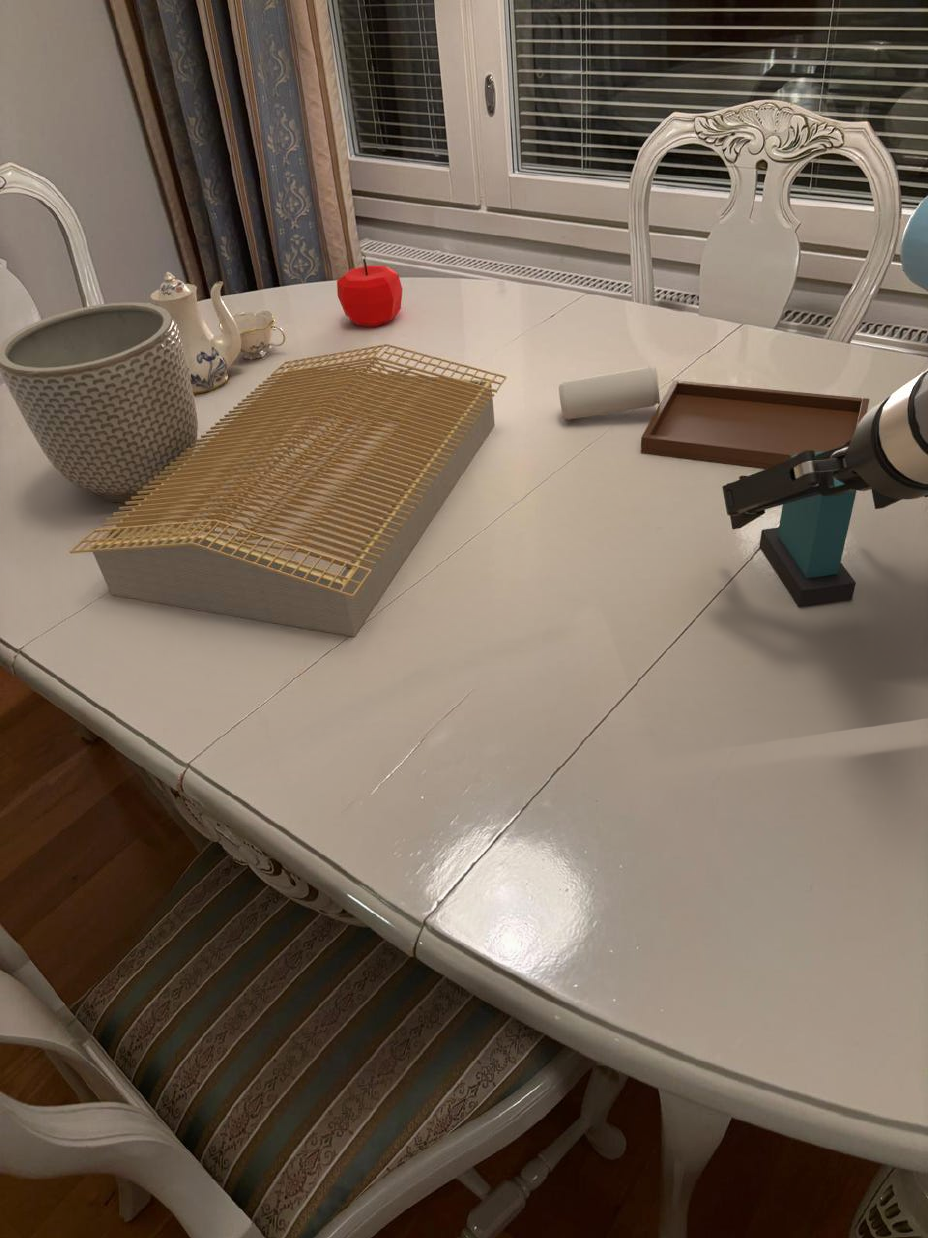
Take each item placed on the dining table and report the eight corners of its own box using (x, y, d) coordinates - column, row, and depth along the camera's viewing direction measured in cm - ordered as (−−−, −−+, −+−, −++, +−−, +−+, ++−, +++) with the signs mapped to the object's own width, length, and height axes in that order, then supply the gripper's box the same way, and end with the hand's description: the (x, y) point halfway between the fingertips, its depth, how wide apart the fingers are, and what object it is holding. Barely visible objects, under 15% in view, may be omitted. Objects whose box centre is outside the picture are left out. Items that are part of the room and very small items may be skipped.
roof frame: (364, 647, 82) (346, 565, 76) (91, 599, 92) (56, 523, 86) (509, 421, 114) (504, 350, 108) (294, 403, 124) (279, 337, 118)
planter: (53, 470, 115) (-10, 327, 103) (201, 428, 121) (158, 288, 108) (68, 544, 101) (-4, 388, 89) (235, 493, 106) (189, 340, 94)
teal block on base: (807, 539, 89) (826, 441, 82) (852, 599, 81) (876, 497, 74) (759, 545, 89) (773, 448, 82) (799, 607, 81) (818, 505, 74)
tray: (866, 414, 107) (869, 398, 106) (853, 479, 96) (857, 462, 95) (672, 394, 116) (672, 379, 114) (640, 452, 105) (641, 436, 104)
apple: (405, 328, 141) (396, 264, 135) (339, 334, 142) (327, 271, 136) (407, 304, 150) (399, 243, 143) (345, 310, 150) (334, 249, 144)
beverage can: (557, 374, 111) (654, 357, 109) (563, 403, 115) (656, 388, 113) (559, 398, 108) (658, 381, 106) (564, 428, 112) (660, 412, 110)
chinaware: (282, 345, 145) (255, 238, 135) (301, 372, 131) (273, 255, 122) (108, 385, 139) (68, 275, 129) (109, 418, 125) (65, 298, 116)
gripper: (761, 512, 60) (680, 562, 82) (1113, 463, 61) (943, 525, 82) (742, 407, 61) (667, 483, 82) (1090, 359, 62) (927, 447, 83)
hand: (805, 504), depth 82 cm, fingers open, 13 cm apart
